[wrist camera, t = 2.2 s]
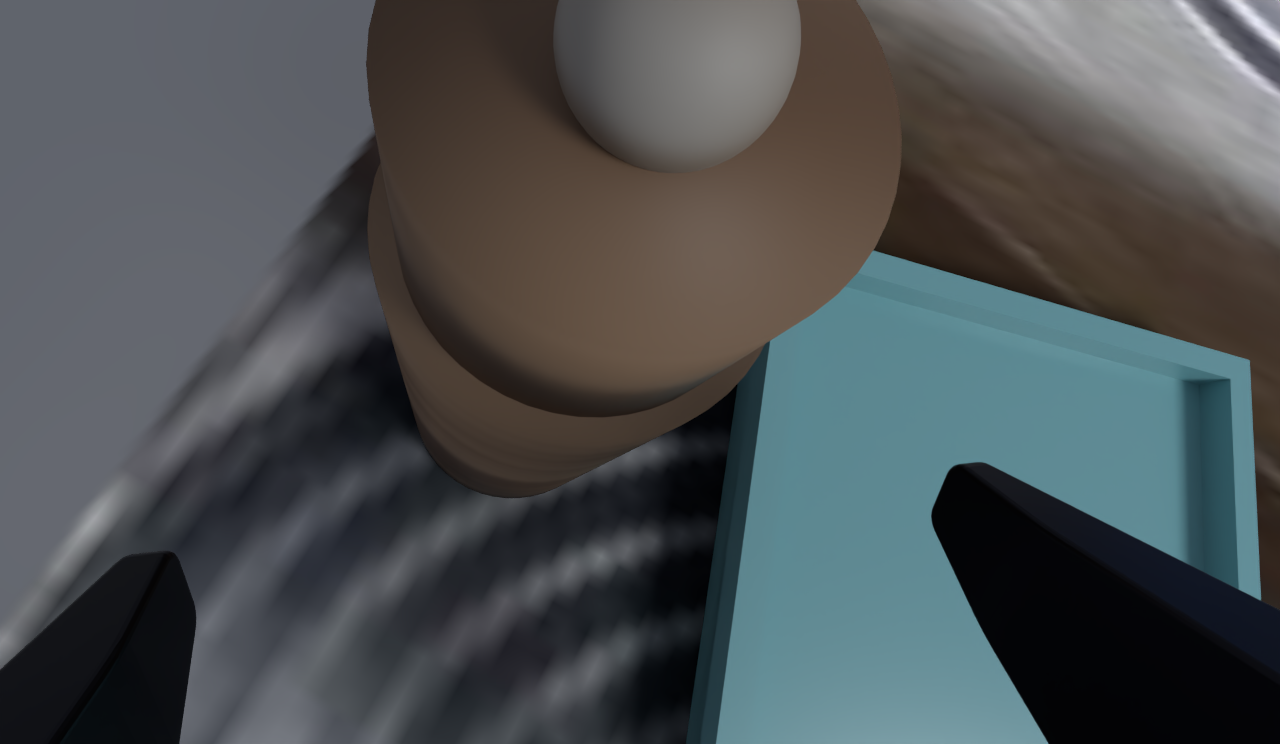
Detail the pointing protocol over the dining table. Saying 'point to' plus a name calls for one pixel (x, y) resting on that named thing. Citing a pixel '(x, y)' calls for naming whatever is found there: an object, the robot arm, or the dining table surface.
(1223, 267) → the dining table surface
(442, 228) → the pepper mill
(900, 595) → the teal tray
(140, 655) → the robot arm
